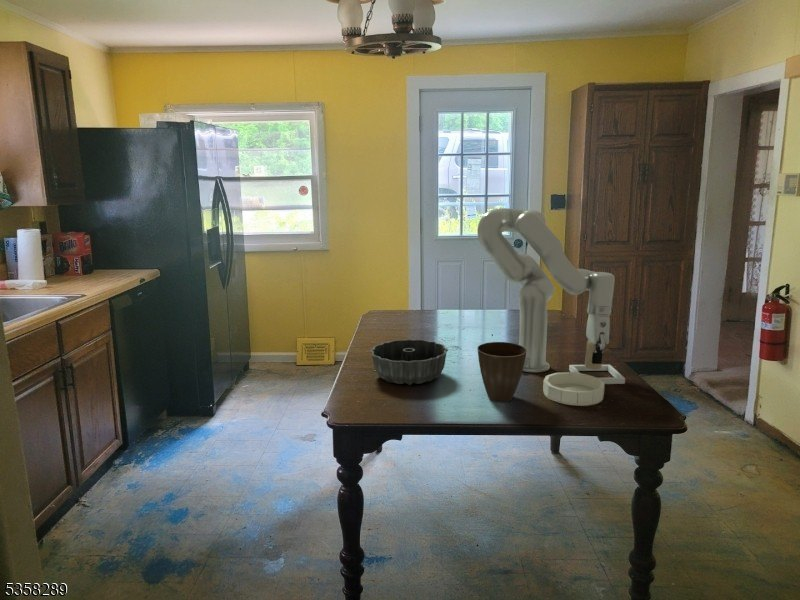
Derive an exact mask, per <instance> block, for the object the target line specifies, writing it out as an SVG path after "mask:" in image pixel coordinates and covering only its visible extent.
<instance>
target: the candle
mask: <svg viewBox="0 0 800 600" xmlns="http://www.w3.org/2000/svg"><path fill="white" fill-rule="evenodd" d="M587 341H588V340H587ZM587 341H586V346H585V347H586V349H585V357H584V358H585V359H584V365H585V367H586V368H589V369H594V370H598V369H601V366H602V365H603V362H602V363H601V364H593V363H592V355H593V352H594V343H593V342H591V341H590V340H589V341H588V342H587ZM597 343H600V342H597ZM598 346H600V345H597V347H598ZM603 357H604V355H603V356H602V358H603Z"/></svg>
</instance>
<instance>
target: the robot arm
mask: <svg viewBox="0 0 800 600" xmlns="http://www.w3.org/2000/svg"><path fill="white" fill-rule="evenodd" d="M505 232H507V233H518V234H520V236H521V237H522V238H523V239H524V240H525V241H526V242H527V244H528V245H529V246H530V247H531V248H532V250H533V251H534V252H535V253H536V254H538V256H539V258H541V260H542V263H543V264H544V266H545V268H546V269H547V271H548V272H549V274H550V275H551V276H552V278H553V279H554V280H555V281H556V282H557V283H558V284H559V286H560V287H561V288H562V289H563V290H564V291H565V292H566V293H568V294H570V295H574V296H577V295H581V294H582V293H584V292H585V291H589V292H588V293H589V294H588V301H587V302H588V303H587V309H586V312H587V315H588V318H587V322H586V329H585V330H586V331H585V333H586V334H585V336H586V338H587V341H586V343H587V342H588V341H589V340H590V341H591V342H593V343H594V352H593V355H592V363H593V364H601V363H602V364H603V357H604V350H605V348H606V345H609V342H610V328H611V327H610V325H611V323H610V322H611V321H610V319H611V317H610V316H611V313H612V307H613V298H614V289H615V281H616V280H615V279H616V278H615V275H614V274H613V273H611V272H605V271H593V270H588V269H585V268H576V267H575V266H574V264H572V262H571V261H570V260H569V259H568V257H567V255H566V253H565V251H564V246H563V243H562V241H561V240H560V238H558V236H557V235H555V233H554V232H553V231H552V230H551V229H550V228H549V227H548V226H547V223H546V218H545V216H544V214H543V213H541V212H540V211H538V210H534V209H519V208H507V207H506V208H504V207H502V208H496V209H495V208H494V209H491V210H489V211H487V212H485V213H484V214H483V215H482V216H481V218H480V219H479V222H478V225H477V238H478V241H479V244H480V245H481V247H482V248H483V249H484V251H485V252H486V253H487V255H488V256H489V257H490V259H491V260H492V262H493V263H494V264H495V265H496V267H497V268H498V269H499V271H500V272H501V274H503V276H504V277H505V278H506V280H507V281H508V282H510V283H513V284H518V283H520V284H521V286H522V287H521V288H520V291H519V294H518V306H519V330H518V331H519V332H518V334H519V335H518V337H519V338H518V345H521V346H523V347H525V348H526V349H527V353H526V358H525V363H524V367H523V371H522V372H524V373H525V372H526V373H543V372H546V371H548V370H550V366H551V365H550V364H549V363H548V362H547V361H546V358H547V356H546V355H547V337H548V332H547V331H548V306H547V305H548V302H549V301H550V300H551V299H552V298H553V296H554V293H555V288H554V287H555V286H554V283H553V282H552V281H551V279H550V277H548V275H547V274H546V272H545V271H544V270H543V269H542V267H541V266H540V265H539V264H538V263H537V262H536V260H535V258H533V257H532V256H530V255H529V254H525V253H518V251H517V250H516V249H515V248H514V246H513V245H512V244H511V242H510V241H509V240H508V239H507V238H506V237H504V235H503V233H505ZM597 342H600V343H597ZM597 345H600V346H598V347H597ZM602 356H603V357H602Z"/></svg>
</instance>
